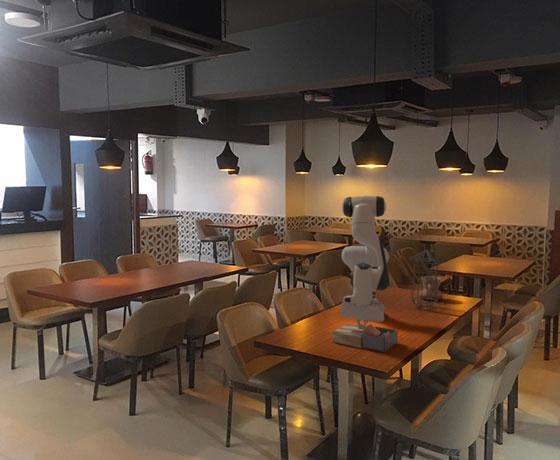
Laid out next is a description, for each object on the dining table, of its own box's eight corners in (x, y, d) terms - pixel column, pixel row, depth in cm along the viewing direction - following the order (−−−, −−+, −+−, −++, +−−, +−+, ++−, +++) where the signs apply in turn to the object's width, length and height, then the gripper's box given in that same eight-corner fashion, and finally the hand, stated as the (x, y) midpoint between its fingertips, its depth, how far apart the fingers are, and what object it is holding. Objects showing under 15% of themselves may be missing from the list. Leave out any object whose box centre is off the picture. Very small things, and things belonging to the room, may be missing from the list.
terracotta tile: (367, 328, 226) (370, 323, 225) (377, 337, 223) (381, 332, 222) (362, 331, 221) (365, 326, 220) (372, 340, 218) (376, 336, 217)
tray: (375, 338, 230) (375, 326, 230) (397, 342, 224) (397, 330, 224) (361, 347, 217) (361, 334, 216) (384, 352, 211) (385, 338, 211)
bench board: (347, 333, 238) (347, 323, 238) (374, 338, 230) (374, 328, 230) (332, 342, 225) (332, 331, 224) (360, 347, 217) (361, 336, 217)
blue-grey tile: (388, 331, 221) (392, 337, 220) (378, 336, 224) (381, 342, 223) (384, 334, 216) (387, 340, 215) (373, 339, 219) (376, 346, 218)
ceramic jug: (421, 295, 327) (421, 274, 325) (444, 297, 321) (444, 276, 319) (416, 301, 310) (417, 279, 309) (440, 303, 304) (441, 281, 303)
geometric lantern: (406, 308, 292) (408, 249, 290) (417, 304, 304) (419, 248, 302) (432, 312, 282) (434, 251, 280) (442, 308, 294) (444, 249, 292)
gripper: (386, 301, 221) (385, 331, 222) (345, 295, 232) (344, 324, 233) (381, 303, 216) (380, 334, 217) (339, 297, 227) (338, 327, 228)
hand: (361, 328), depth 225 cm, fingers closed
